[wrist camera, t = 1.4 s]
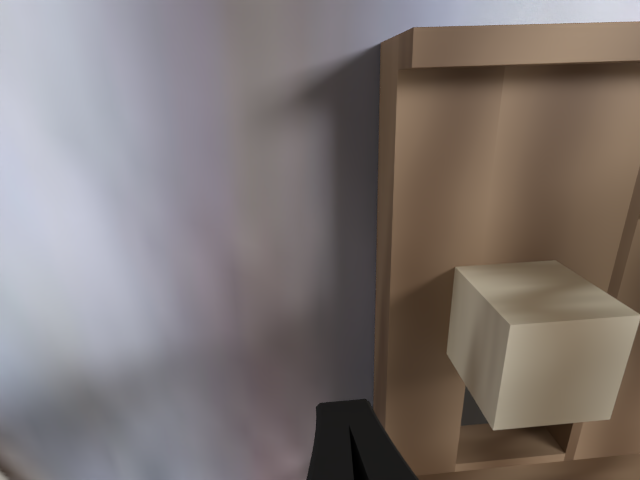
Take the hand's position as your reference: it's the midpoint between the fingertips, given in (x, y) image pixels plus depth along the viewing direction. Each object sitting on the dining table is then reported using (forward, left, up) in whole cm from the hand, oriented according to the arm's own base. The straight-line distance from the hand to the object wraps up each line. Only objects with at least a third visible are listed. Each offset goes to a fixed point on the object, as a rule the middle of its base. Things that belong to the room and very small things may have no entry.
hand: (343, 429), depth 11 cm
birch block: (-7, 0, -5) cm, 9 cm away
